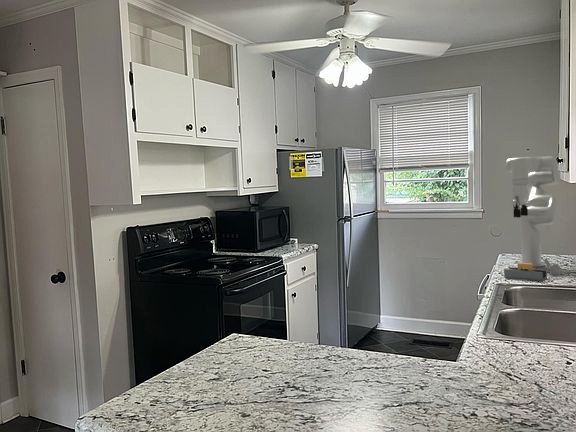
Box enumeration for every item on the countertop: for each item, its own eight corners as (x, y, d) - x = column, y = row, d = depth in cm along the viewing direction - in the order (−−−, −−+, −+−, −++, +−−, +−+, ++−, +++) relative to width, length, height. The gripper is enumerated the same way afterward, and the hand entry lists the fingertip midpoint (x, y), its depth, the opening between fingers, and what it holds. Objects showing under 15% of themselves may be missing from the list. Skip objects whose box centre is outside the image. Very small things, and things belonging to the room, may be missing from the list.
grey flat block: (509, 274, 240) (509, 266, 240) (546, 278, 228) (546, 270, 228) (504, 277, 235) (504, 269, 235) (541, 281, 223) (541, 272, 223)
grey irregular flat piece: (560, 274, 235) (560, 258, 234) (559, 275, 234) (559, 258, 233) (543, 273, 239) (543, 257, 238) (543, 274, 238) (543, 258, 237)
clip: (519, 274, 235) (519, 262, 234) (532, 276, 230) (532, 263, 230) (517, 275, 233) (517, 263, 232) (531, 276, 229) (531, 264, 228)
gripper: (518, 182, 252) (519, 214, 253) (505, 183, 239) (506, 217, 241) (534, 181, 246) (534, 214, 248) (521, 183, 234) (522, 218, 235)
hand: (520, 216), depth 244 cm, fingers open, 9 cm apart
